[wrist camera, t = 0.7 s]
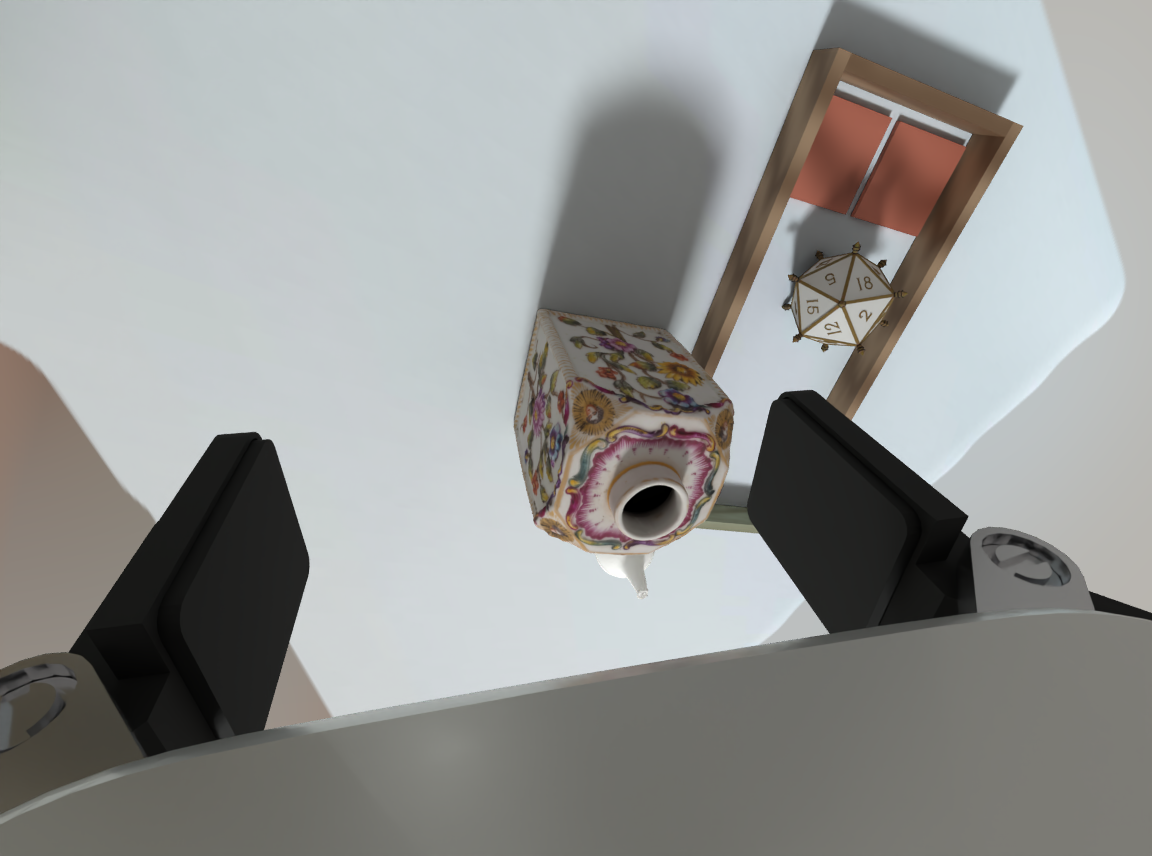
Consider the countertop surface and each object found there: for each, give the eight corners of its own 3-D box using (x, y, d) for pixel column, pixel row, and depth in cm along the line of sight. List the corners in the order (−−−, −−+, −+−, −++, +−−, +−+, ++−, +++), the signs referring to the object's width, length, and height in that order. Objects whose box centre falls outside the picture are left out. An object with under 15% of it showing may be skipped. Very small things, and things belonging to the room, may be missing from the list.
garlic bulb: (636, 559, 62) (665, 616, 55) (584, 560, 59) (609, 620, 53) (654, 516, 59) (687, 571, 52) (601, 515, 56) (629, 573, 50)
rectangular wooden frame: (813, 50, 38) (839, 47, 35) (989, 123, 43) (1023, 126, 40) (631, 503, 56) (640, 523, 54) (770, 517, 61) (783, 535, 59)
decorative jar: (631, 442, 52) (705, 584, 37) (510, 429, 49) (539, 581, 34) (671, 324, 47) (777, 437, 32) (537, 301, 43) (585, 415, 28)
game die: (804, 254, 50) (929, 231, 42) (810, 348, 51) (931, 342, 44) (748, 260, 44) (880, 235, 37) (757, 365, 46) (885, 361, 38)
